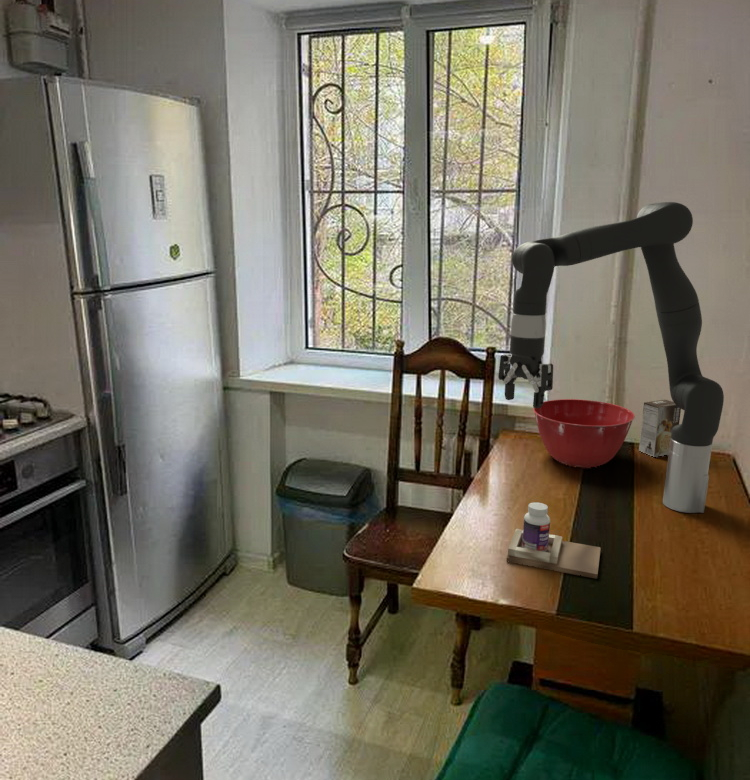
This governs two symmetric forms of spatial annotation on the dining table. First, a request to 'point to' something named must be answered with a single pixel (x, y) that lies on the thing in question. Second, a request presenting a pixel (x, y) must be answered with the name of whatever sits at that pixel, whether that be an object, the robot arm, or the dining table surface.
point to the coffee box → (658, 427)
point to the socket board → (556, 556)
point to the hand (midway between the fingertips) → (523, 403)
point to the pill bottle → (536, 527)
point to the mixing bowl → (582, 430)
